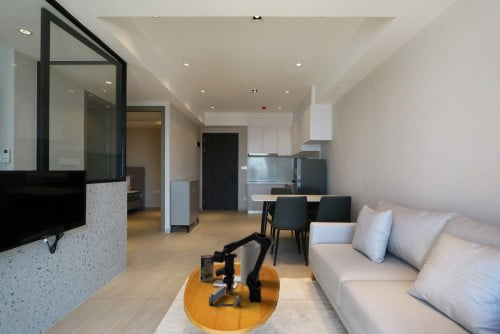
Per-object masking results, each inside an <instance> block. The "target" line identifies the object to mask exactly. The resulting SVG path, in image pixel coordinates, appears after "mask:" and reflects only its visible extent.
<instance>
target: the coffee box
mask: <svg viewBox="0 0 500 334" xmlns="http://www.w3.org/2000/svg"><path fill="white" fill-rule="evenodd" d="M213 255H214V254H208V255H199V281H200V282H201V283H203V282H213V281H214V280H215V279H214V276H215V275H214V274H215V273H214V272H215V271H214V270H215V268H214V267H215V262H213V260H212V258H213Z"/></svg>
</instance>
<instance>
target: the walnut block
mask: <svg viewBox="0 0 500 334" xmlns="http://www.w3.org/2000/svg"><path fill="white" fill-rule="evenodd" d="M226 295H232V296H233V295H234V283H233V284H232V286H231V289H230V290H228V286H227V284H225V296H226Z"/></svg>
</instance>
